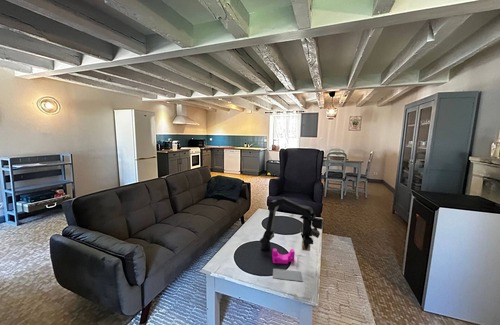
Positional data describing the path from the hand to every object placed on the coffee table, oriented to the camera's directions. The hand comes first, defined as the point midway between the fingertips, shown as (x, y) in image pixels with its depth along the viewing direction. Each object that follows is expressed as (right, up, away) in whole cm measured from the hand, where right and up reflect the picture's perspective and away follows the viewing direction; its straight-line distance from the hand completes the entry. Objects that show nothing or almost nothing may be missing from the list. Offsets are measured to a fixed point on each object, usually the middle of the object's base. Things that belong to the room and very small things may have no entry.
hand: (305, 247), depth 141 cm
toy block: (-15, -12, +4) cm, 19 cm away
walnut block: (0, -1, 0) cm, 1 cm away
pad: (-15, -13, -11) cm, 23 cm away
